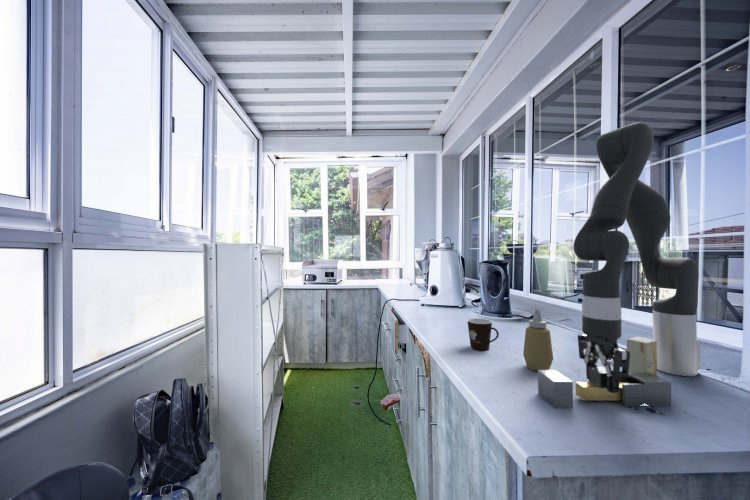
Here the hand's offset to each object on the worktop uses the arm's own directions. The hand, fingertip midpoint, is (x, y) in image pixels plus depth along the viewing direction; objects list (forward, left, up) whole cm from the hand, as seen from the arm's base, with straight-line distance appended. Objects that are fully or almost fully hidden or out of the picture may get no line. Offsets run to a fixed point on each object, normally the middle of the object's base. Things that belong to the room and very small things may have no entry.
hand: (601, 385), depth 73 cm
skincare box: (-16, -8, -4) cm, 19 cm away
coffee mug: (+16, -38, -4) cm, 41 cm away
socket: (+11, 0, -4) cm, 12 cm away
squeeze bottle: (+5, -20, -4) cm, 21 cm away
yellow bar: (-4, 0, -4) cm, 5 cm away
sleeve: (-9, 0, -4) cm, 9 cm away
